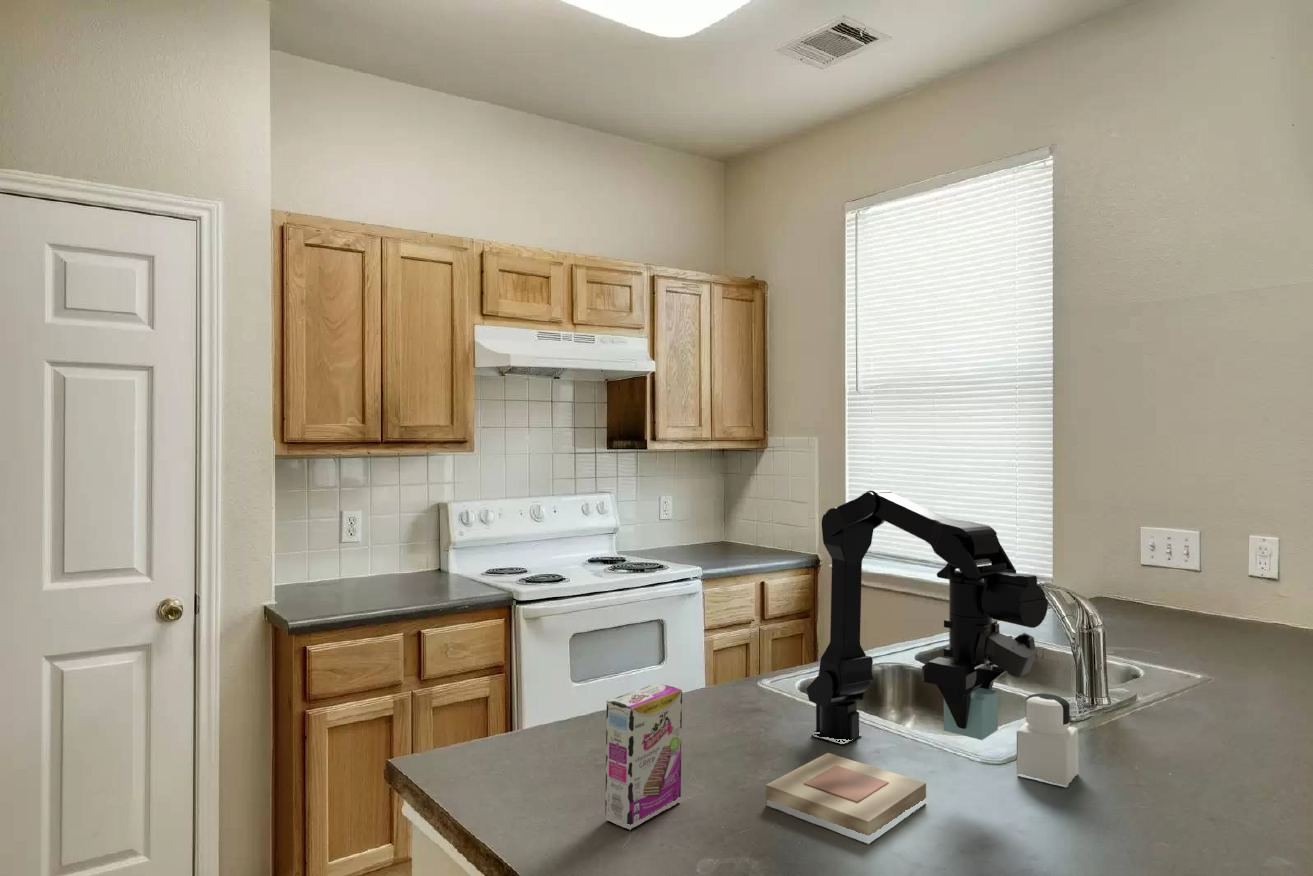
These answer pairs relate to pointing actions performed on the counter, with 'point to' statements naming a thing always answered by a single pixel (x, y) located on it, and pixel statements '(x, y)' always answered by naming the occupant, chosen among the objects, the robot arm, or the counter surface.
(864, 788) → the stack base
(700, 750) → the counter surface
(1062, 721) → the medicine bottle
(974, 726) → the teal block
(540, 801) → the counter surface
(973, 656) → the robot arm
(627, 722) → the candy bar box
